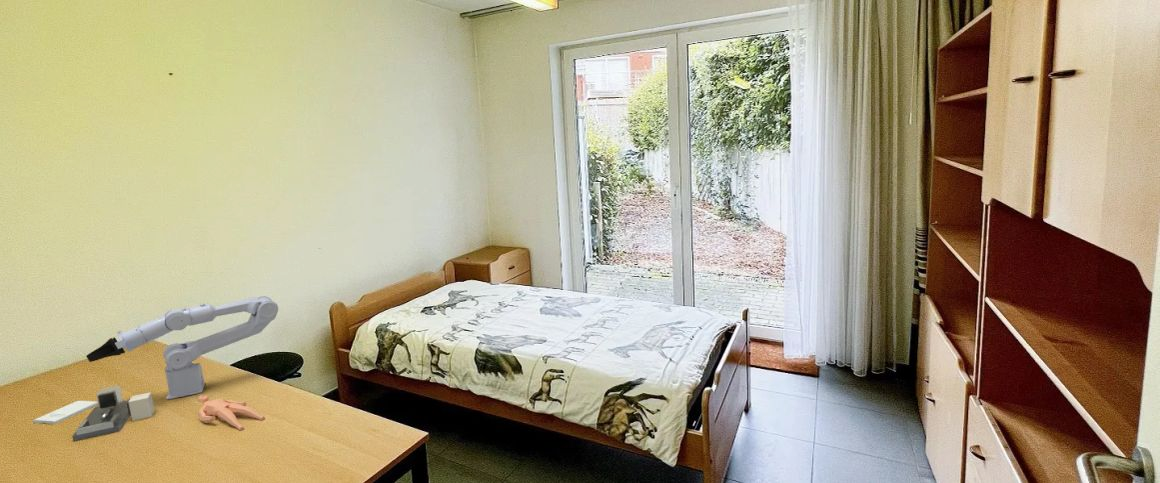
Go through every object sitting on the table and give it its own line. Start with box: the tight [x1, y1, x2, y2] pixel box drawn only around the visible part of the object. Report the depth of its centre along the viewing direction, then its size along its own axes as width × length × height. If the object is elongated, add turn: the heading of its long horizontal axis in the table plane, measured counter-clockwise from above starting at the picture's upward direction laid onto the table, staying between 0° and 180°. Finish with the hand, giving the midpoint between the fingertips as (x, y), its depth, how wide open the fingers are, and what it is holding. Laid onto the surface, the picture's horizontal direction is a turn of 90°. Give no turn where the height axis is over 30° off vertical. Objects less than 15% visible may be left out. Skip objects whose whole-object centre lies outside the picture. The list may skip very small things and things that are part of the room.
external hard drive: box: [32, 400, 99, 425], centre depth 168 cm, size 2×8×12 cm
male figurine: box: [197, 394, 266, 431], centre depth 160 cm, size 11×5×25 cm
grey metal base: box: [71, 384, 130, 442], centre depth 161 cm, size 10×20×8 cm, turn 27°
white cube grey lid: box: [127, 392, 155, 422], centre depth 163 cm, size 5×4×6 cm
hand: (90, 358), depth 163 cm, fingers open, 7 cm apart
